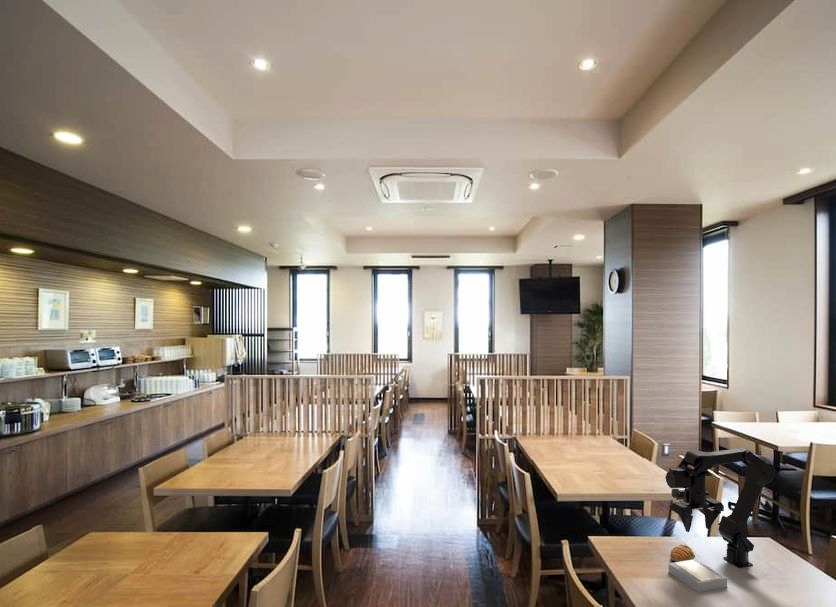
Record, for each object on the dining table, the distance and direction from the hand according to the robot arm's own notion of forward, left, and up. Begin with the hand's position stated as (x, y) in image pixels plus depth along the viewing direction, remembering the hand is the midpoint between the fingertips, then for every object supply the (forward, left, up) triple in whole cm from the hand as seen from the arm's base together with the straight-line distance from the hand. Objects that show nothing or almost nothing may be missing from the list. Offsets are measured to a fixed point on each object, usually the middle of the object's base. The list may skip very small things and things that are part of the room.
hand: (697, 530), depth 161 cm
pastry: (+6, -5, -13) cm, 15 cm away
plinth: (+9, +8, -12) cm, 17 cm away
